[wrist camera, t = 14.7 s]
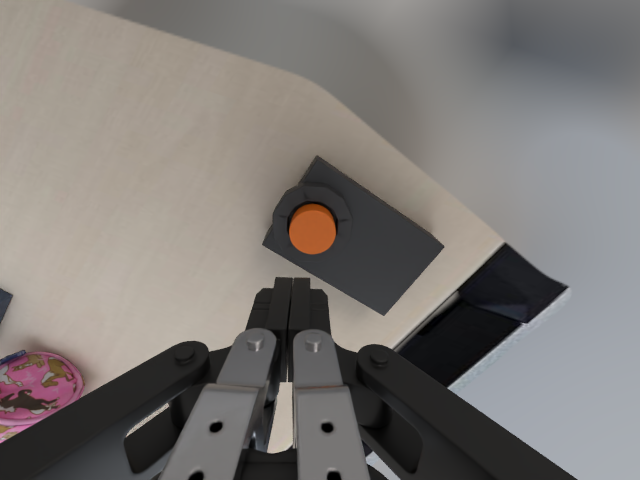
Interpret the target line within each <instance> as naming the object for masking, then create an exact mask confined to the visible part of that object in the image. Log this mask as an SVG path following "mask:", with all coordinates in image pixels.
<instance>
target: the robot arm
mask: <svg viewBox="0 0 640 480" xmlns="http://www.w3.org/2000/svg"><path fill="white" fill-rule="evenodd" d="M287 368H288V382H292V418H293V449H290V450H286V451H282V452H279V453H274V454H271V453H267V449H268V444H269V439H270V434H271V429H272V424H273V419H274V415H275V410H276V405H277V395H278V392H279V385H280V382H286V379H287ZM166 403H168V404H169V407H168V408H167V409H165V410H164V411H162V412H161V413H160V414H158V415H157V416H155V417H154V418H153V419H151V420H150V421H148V422H147V423H146V424H144V425H143V426H141V427H140V428H139V429H137V430H136V431H134V432H133V433H132V434H130V435H129V436H127V437H126V435H127V433H128V432H129V431H130V430H131V429H132V428H133V427H134V426H135V425H136V424H138V423H139V422H141V421H142V420H144V419H145V418H146V417H148V416H149V415H151V414H152V413H154V412H155V411H156V410H158V409H159V408H161V407H162V406H164V405H165V404H166ZM125 437H126V438H125ZM361 439H362V440H363V441H364V442H365V443H366V444H367V445H368V446H369V447H370V448H371V449H372V450H373V451H374V452H375V453H376V454H377V455H378V456H379V457H380V459H381V460H383V462H384V463H385V464H386V465H387V466H388V467H389V468H390V469H391V470H392V471H393V472H394V473H395V474H396V475H397V476H398V477H399V478H400V479H401V480H577V479H576V478H574V477H573V476H572V475H570V474H569V473H567V472H566V471H564V470H563V469H562V468H560V467H559V466H557V465H556V464H554V463H553V462H551V461H550V460H549V459H547V458H546V457H544V456H543V455H542V454H540V453H539V452H537V451H536V450H534V449H533V448H531V447H530V446H529V445H527V444H526V443H524V442H523V441H522V440H520V439H519V438H517V437H516V436H515V435H513V434H511V433H510V432H509V431H507V430H506V429H505V428H503V427H502V426H500V425H499V424H497V423H496V422H494V421H493V420H491V419H490V418H489V417H487V416H486V415H485V414H483V413H482V412H480V411H479V410H477V409H476V408H475V407H473V406H472V405H470V404H469V403H467V402H466V401H465V400H463V399H462V398H460V397H459V396H457V395H456V394H455V393H453V392H452V391H450V390H449V389H447V388H446V387H445V386H443V385H442V384H440V383H439V382H437V381H436V380H435V379H433V378H432V377H430V376H429V375H427V374H426V373H425V372H423V371H422V370H420V369H419V368H417V367H416V366H415V365H413V364H412V363H410V362H409V361H408V360H406V359H405V358H403V357H402V356H400V355H399V354H398V353H396V352H395V351H393V350H392V349H390V348H388V347H386V346H383V345H378V344H371V345H366V346H364V347H362V348H361V349H360V350H359V351H358V353H356V352H353V351H349V350H346V349H344V348H342V347H340V346H338V345H337V344H336V343H335V342H334V340H333V338H332V337H331V329H330V319H329V308H328V298H327V295H326V294H325V293H324V291H323V290H322V289H310V278H294V281H293V278H288V277H276V279H275V283H274V288H263V289H262V290H261V291H260V292H259V293H257V294H256V297H255V300H254V304H253V307H252V310H251V313H250V316H249V320H248V323H247V326H246V329H245V331H244V332H242V333H240V334H239V335H238V336H237V337H236V339H235V341H234V343H233V345H232V346H230V347H227V348H224V349H220V350H215V351H210V352H209V350H208V347H207V346H206V345H205V344H203V343H201V342H198V341H187V342H182V343H179V344H176V345H174V346H172V347H171V348H169V349H167V350H165V351H164V352H162V353H160V354H158V355H156V356H155V357H153V358H151V359H149V360H148V361H146V362H144V363H142V364H140V365H139V366H137V367H135V368H133V369H131V370H130V371H128V372H126V373H124V374H123V375H121V376H119V377H117V378H115V379H114V380H112V381H110V382H108V383H107V384H105V385H103V386H101V387H99V388H98V389H96V390H94V391H92V392H90V393H89V394H87V395H85V396H83V397H82V398H80V399H78V400H76V401H74V402H73V403H71V404H69V405H67V406H66V407H64V408H62V409H60V410H58V411H57V412H55V413H53V414H51V415H50V416H48V417H46V418H44V419H42V420H41V421H39V422H37V423H35V424H33V425H32V426H30V427H28V428H26V429H25V430H23V431H21V432H19V433H17V434H16V435H14V436H12V437H10V438H9V439H7V440H5V441H3V442H1V443H0V480H388V479H387V478H386V477H384V475H383V474H381V473H380V472H379V471H377V470H376V469H375V468H373V467H372V466H370V465H368V464H367V463H366V459H365V454H364V450H363V446H362V442H361Z"/></svg>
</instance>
